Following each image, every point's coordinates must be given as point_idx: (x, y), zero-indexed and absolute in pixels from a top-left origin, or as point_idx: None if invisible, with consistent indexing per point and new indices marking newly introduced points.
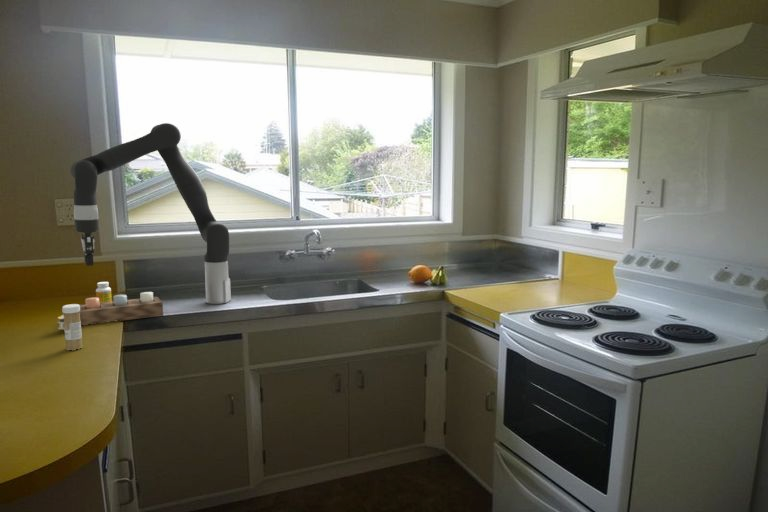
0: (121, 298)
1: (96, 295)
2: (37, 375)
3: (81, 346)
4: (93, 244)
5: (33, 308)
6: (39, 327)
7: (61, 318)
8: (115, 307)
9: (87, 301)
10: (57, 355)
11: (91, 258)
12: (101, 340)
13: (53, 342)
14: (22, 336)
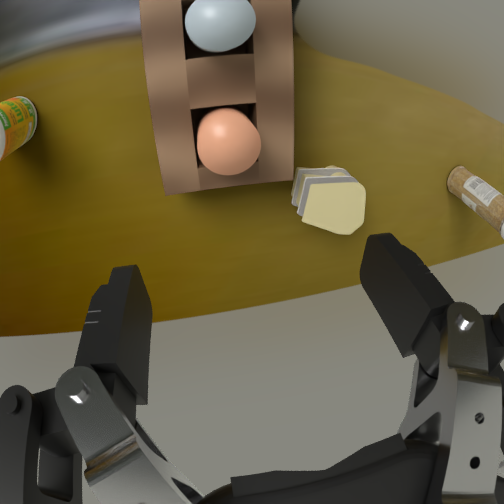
0: (254, 17)
1: (4, 157)
2: None
3: (466, 169)
4: (497, 427)
5: (29, 297)
6: (237, 258)
7: (358, 224)
8: (287, 50)
9: (249, 163)
10: None
11: (438, 286)
12: (444, 125)
13: (397, 214)
14: (307, 275)
